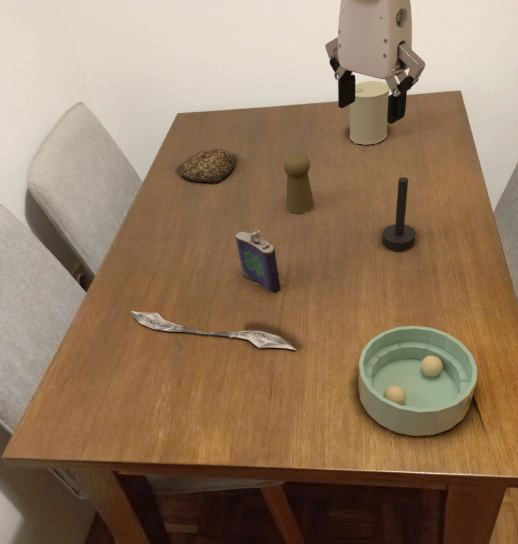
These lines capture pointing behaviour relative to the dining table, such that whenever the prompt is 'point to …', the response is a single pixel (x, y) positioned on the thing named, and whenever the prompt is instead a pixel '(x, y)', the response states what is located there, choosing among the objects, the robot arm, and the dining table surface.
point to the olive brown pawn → (298, 184)
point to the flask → (258, 260)
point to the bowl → (416, 380)
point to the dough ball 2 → (431, 366)
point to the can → (369, 112)
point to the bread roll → (209, 166)
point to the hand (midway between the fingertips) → (370, 112)
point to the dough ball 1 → (395, 394)
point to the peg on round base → (400, 224)
